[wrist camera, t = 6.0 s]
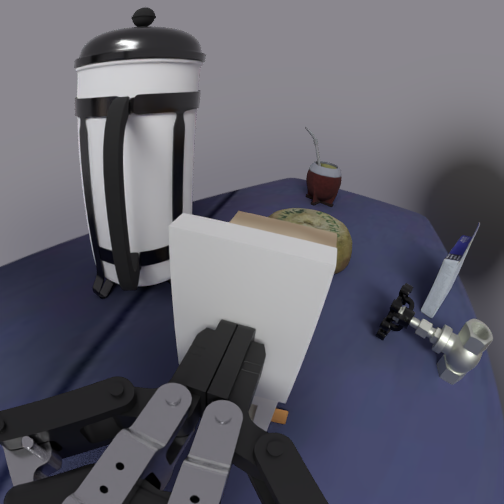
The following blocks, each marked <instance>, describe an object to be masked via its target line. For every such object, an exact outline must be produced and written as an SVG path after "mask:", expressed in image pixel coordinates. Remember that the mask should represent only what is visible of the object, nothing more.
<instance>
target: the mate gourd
mask: <svg viewBox="0 0 504 504" xmlns="http://www.w3.org/2000/svg"><path fill="white" fill-rule="evenodd" d="M305 128H306V127H305ZM306 129H307V131H308V132H309V133H310V134H311V136H312V137H313V139H314V140H313V141H314V144H315V148H316V155H317V161H316V162H314V163H313V164H312V165H311V166H310V168H309V171H308V173H307V188H308V194H306V197H308V198H310V199H313V201H312V202H311V205H316V204H318V203H322V204H325V205H327V206H330V207H333V204H332V203H333V201H334V199H335V197H336V195H337V193H338V190H339V188H340V185H341V170H340V168H339V167H338V166H337V165H335V164H332V163H328V162H323V161H320V157H319V150H318V141H317V139H316V137H315V135H314V134H313V133H312V132H311V131H310V130H308V128H306Z"/></svg>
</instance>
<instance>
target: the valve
mask: <svg viewBox="0 0 504 504" xmlns="http://www.w3.org/2000/svg"><path fill="white" fill-rule="evenodd" d="M412 289H413V287H412V286H411V285H409V284H407V283H406V284H405V285H403V286H402V288H401V290H400V292H399V296H398V298H397V299H396V300H394V301H393V303H392V305H391V306H390V312H389V313H388V315H387V317H386V318H384V320H383V321H382V323H381V325H380V329H379V330H378V332H377V334H376V337H378V338H380V339H381V340H384V338H385V337H386V336H387V335H388V333H389V331H390V330H393V331H400V330H401V329H402V328H403V327H404V328H407V327H408V325H410V326H411V327H413V328H415V329H416V331H415V333H416V334H418V335H419V336H421V337H423V338H424V339H425V337H426V336H427V337H428V338H430V342H431V343H433V345H432V348H431V349H432V350H433V351H435V352H436V353H438V354H439V353H440V352H442V353H444V355H443V356H442V357H441V359H440V360H439V361H438V363H437V368H438V373H439V377H440V378H441V379H443V380H445V381H446V382H448V383H450V384H452V385H453V384H455V383H456V382H458V381H459V380H461V379H462V378H463V377H464V376H465V374H466V373H467V372H468V371H470V370H472V369H473V368H474V367H475V366H476V365H477V364H478V362H479V361H480V358H481V356H482V352H483V351H485V350H486V348H487V347H488V345H489V344H490V343H491V342H492V340H493V337H492V333H491V331H490V329H489V328H488V327H487V326H486V325H485V324H484V323H483V322H481V321H479V320H477V319H471V320H469V321H468V322H466V323H465V325H464V326H463V328H462V329H461V331H460V332H459V334H458V335H456V334H454V333H452V328H450V327H449V326H447V325H444V326H443V328H442V329H440V328H438V327H437V328H436V329H435V328H433V327H432V325H433V324H432V323H430V322H428V321H427V320H425V319H422V320H421V321H420V320H418V319H416V318H415V317H413V316H414V314H415V312H414V311H413V309H414V302H413V300H412V299H411V298H410V297H408V295H409V293H411V291H412ZM406 303H408V304H409V308H407V307H405V306H404V307H402V305H405V304H406ZM393 321H395V323H397V324H399V325H395V324H393V323H392V322H393Z"/></svg>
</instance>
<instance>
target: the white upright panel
mask: <svg viewBox="0 0 504 504" xmlns="http://www.w3.org/2000/svg"><path fill="white" fill-rule="evenodd" d="M168 229H169V254H170V272H171V287H172V301H173V313H174V323H175V334H176V343H177V352H178V360H179V365H180V363H181V361H182V360H183V358H184V356H185V354H186V353H187V351H188V349H189V348H190V346H191V345H192V342H193V341H194V339H195V337H196V335H197V334H198V333H200V332H201V331H202V330H204V329H205V328H206V327H207V328H210V329H213V330H216V328H217V326H218V324H219V322H220V321H221V320H222V319H223V320H226V321H229V322H233V323H236V324H238V325H239V324H240V325H244V326H247V327H251V328H254V329H256V333H255V339H254V342H258V343H261V344H264V346H265V352H266V357H265V361H264V366H263V370H262V374H261V377H260V380H259V383H258V386H257V389H256V392H255V395H254V398H253V401H252V404H251V406H250V409H249V416H250V418H251V420H252V421H253V422H254V423H255V424H256V425H257V426H258V427H260V428H261V429H263V430H265V431H267V429H268V426H269V424H270V421H271V419H272V416H273V414H274V411H275V409H276V406H277V404H278V402H281V403H286V401H287V399H288V396H289V394H290V392H291V389H292V387H293V384H294V382H295V380H296V377H297V375H298V372H299V370H300V367H301V364H302V362H303V359H304V357H305V354H306V352H307V349H308V346H309V344H310V341H311V338H312V336H313V333H314V330H315V327H316V325H317V322H318V319H319V316H320V313H321V310H322V308H323V305H324V302H325V299H326V296H327V293H328V290H329V287H330V284H331V281H332V277H333V274H334V271H335V268H336V261H337V248H335V247H331V246H327V245H323V244H319V243H314V242H310V241H306V240H302V239H298V238H294V237H289V236H285V235H281V234H276V233H272V232H268V231H263V230H259V229H255V228H250V227H246V226H241V225H237V224H233V223H228V222H224V221H219V220H215V219H210V218H205V217H201V216H196V215H192V214H187V213H182V214H181V215H180V216H179V217H178V218H177V219H176V220H174V221H173V222H172V223H171V224H170V225H169V226H168Z"/></svg>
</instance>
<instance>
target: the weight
mask: <svg viewBox="0 0 504 504" xmlns="http://www.w3.org/2000/svg"><path fill="white" fill-rule="evenodd" d="M269 218H273V219H277V220H282V221H286V222H291V223H295V224H299V225H304V226H308V227H312V228H316V229H320V230H325V231H329V232H333V233H337V244H336V248H337V261H336V268H335V271H334V274H336V273H338V272H340V271H342V270H344V269H345V268H346V266H347V265H348V263H349V261H350V258H351V253H352V240H351V236H350V234H349V231H348V229H347V227H346V226H345V225H344V224H343V223H342V222H340V221H339V220H337V219H335V218H334V217H332V216H330V215H328V214H326V213H323V212H320V211H316V210H311V209H302V208H291V209H284V210H280V211H277V212H275V213H273V214H271V215H270V216H269Z"/></svg>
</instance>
